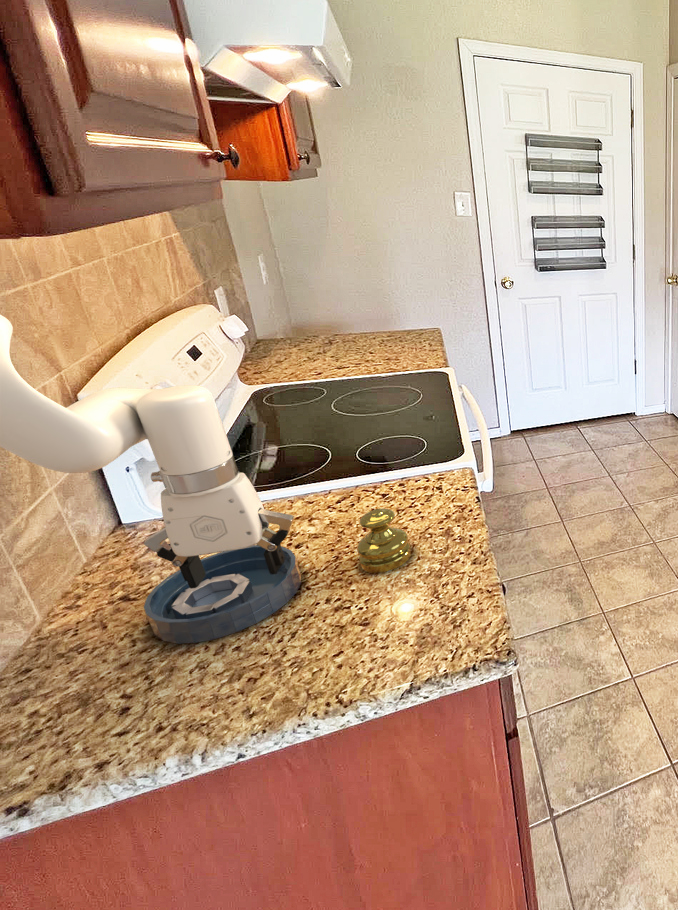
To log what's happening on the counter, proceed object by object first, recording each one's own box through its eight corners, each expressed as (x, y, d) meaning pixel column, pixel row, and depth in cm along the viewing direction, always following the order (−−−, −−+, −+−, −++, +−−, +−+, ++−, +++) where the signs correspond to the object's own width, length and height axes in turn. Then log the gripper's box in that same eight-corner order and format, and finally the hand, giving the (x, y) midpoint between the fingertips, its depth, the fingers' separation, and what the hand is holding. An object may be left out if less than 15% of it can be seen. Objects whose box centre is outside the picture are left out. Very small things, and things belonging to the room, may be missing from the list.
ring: (165, 628, 80) (161, 618, 79) (193, 590, 87) (190, 580, 87) (237, 615, 82) (234, 605, 82) (259, 579, 90) (256, 569, 89)
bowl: (127, 661, 75) (115, 634, 74) (189, 579, 91) (181, 556, 89) (281, 631, 81) (272, 606, 79) (316, 559, 96) (309, 536, 94)
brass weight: (372, 583, 91) (359, 530, 87) (354, 563, 95) (342, 512, 92) (419, 561, 96) (409, 511, 92) (401, 543, 101) (390, 494, 97)
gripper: (104, 498, 72) (151, 605, 79) (266, 477, 78) (298, 579, 84) (138, 471, 79) (179, 571, 85) (285, 453, 84) (313, 549, 91)
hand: (238, 575), depth 85 cm, fingers open, 9 cm apart
